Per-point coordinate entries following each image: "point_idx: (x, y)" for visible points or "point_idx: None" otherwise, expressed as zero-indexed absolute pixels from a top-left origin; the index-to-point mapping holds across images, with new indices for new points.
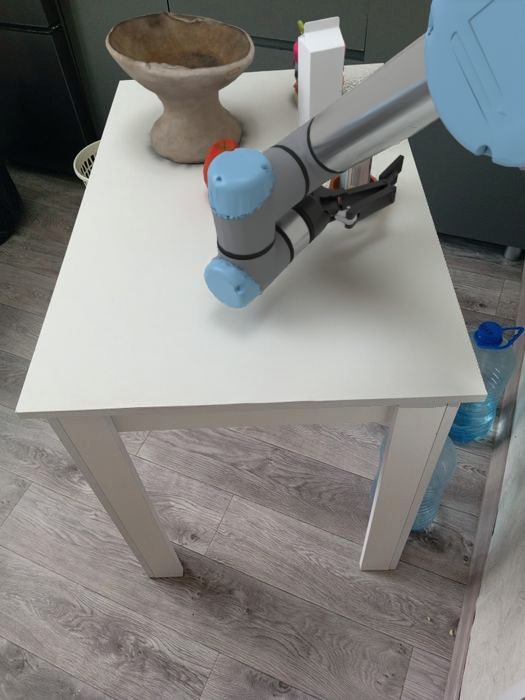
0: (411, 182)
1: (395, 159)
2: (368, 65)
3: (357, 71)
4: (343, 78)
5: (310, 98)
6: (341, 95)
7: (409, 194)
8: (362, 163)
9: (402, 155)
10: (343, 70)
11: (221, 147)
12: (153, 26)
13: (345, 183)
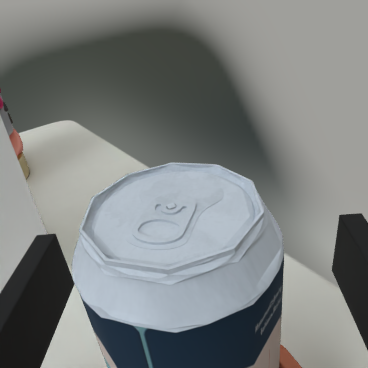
0: (293, 267)
1: (358, 243)
2: (55, 122)
3: (42, 131)
4: (16, 133)
5: None
6: (5, 128)
7: (330, 306)
8: (264, 360)
9: (353, 214)
10: (11, 121)
11: None
12: None
13: None
